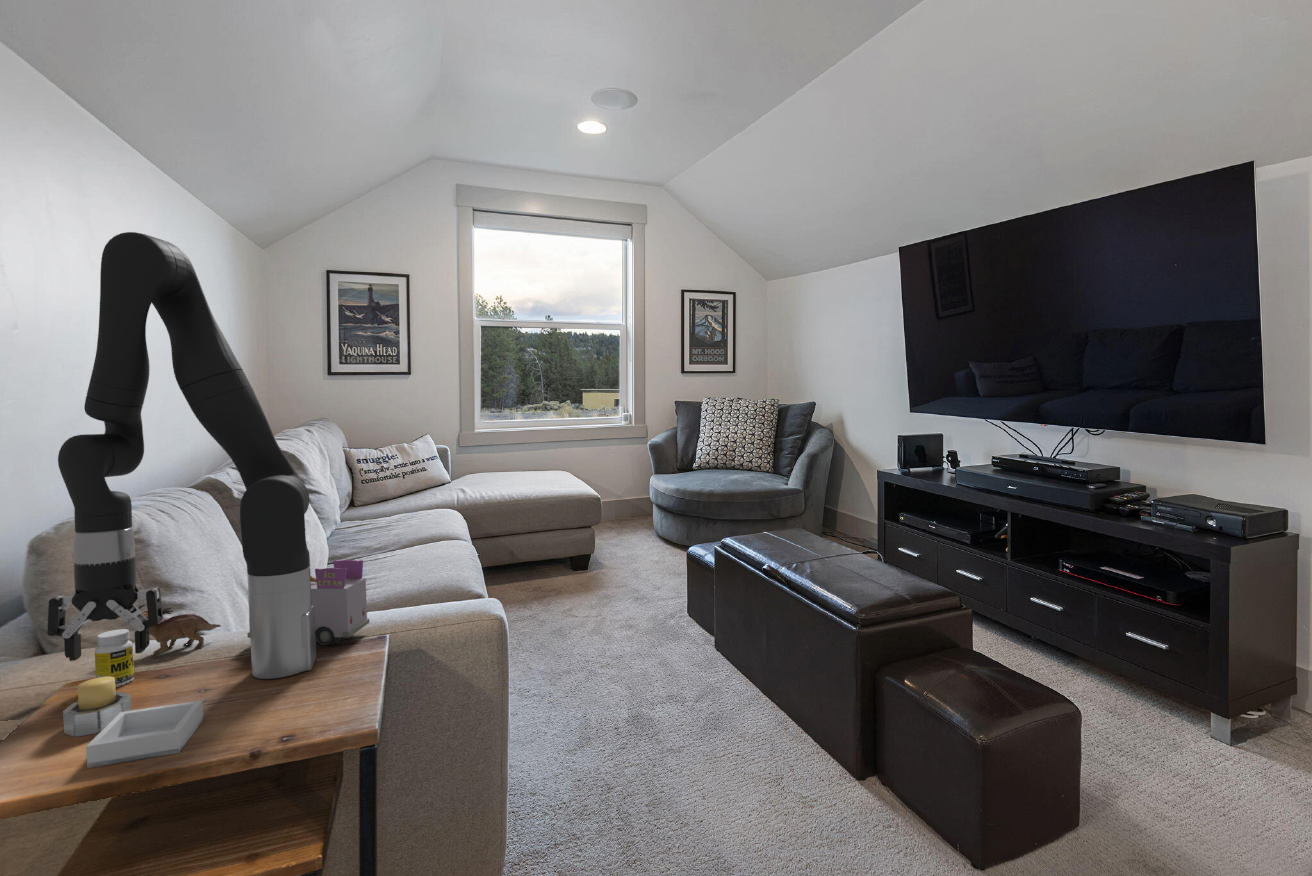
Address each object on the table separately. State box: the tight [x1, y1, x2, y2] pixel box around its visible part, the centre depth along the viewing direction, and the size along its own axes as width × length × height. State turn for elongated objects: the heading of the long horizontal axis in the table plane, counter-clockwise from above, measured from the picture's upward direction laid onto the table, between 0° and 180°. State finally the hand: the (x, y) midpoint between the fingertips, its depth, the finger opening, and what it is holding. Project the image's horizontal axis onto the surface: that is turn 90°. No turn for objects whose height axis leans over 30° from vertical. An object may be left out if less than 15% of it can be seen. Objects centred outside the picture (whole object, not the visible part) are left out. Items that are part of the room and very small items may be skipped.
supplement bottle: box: [94, 628, 135, 688], centre depth 104 cm, size 5×5×8 cm
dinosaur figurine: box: [137, 604, 222, 660], centre depth 119 cm, size 14×6×9 cm, turn 127°
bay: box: [85, 700, 204, 769], centre depth 85 cm, size 10×10×3 cm
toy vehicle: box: [246, 559, 370, 646], centre depth 122 cm, size 9×20×15 cm, turn 88°
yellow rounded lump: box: [77, 676, 117, 710], centre depth 90 cm, size 4×4×3 cm
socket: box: [62, 691, 133, 738], centre depth 90 cm, size 7×7×3 cm
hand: (108, 655), depth 103 cm, fingers open, 8 cm apart
